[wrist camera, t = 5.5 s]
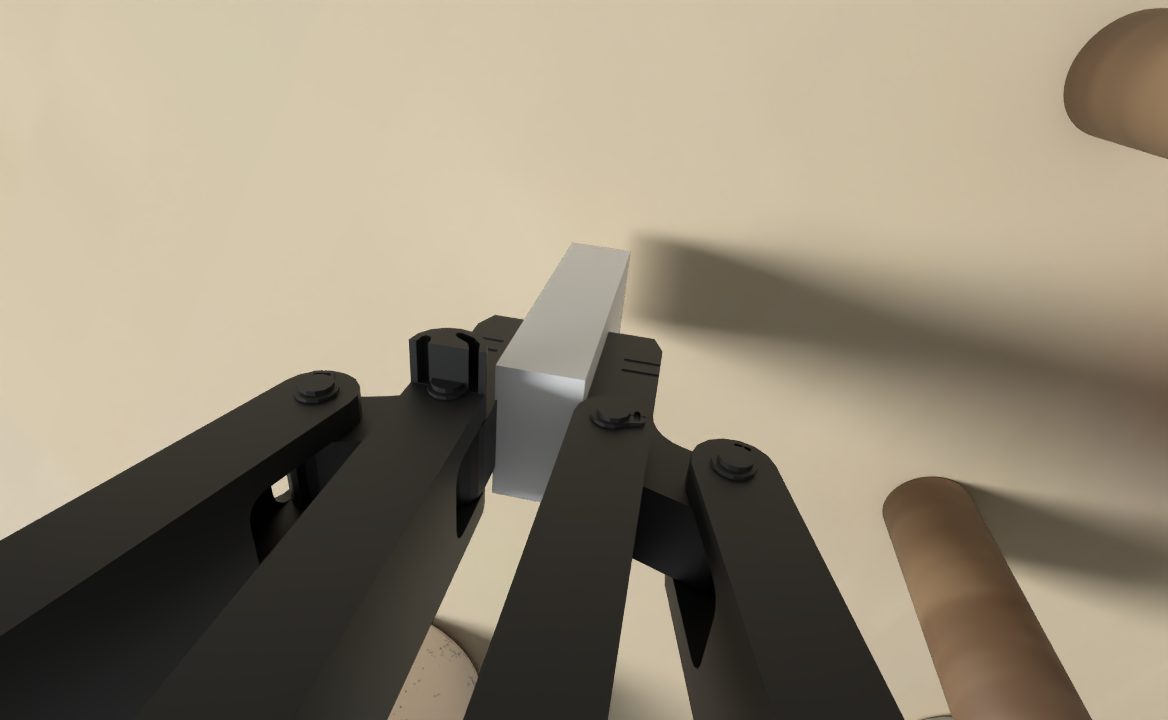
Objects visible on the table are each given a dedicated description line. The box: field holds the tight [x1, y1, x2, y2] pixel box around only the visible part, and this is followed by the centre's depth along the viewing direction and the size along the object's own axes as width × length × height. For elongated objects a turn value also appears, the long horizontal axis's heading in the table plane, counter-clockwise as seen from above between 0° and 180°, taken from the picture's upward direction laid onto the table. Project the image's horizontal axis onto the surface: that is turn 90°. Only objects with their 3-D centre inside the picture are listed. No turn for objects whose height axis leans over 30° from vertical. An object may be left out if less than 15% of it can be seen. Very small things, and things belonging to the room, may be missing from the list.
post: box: [883, 477, 1092, 720], centre depth 16 cm, size 3×3×9 cm
